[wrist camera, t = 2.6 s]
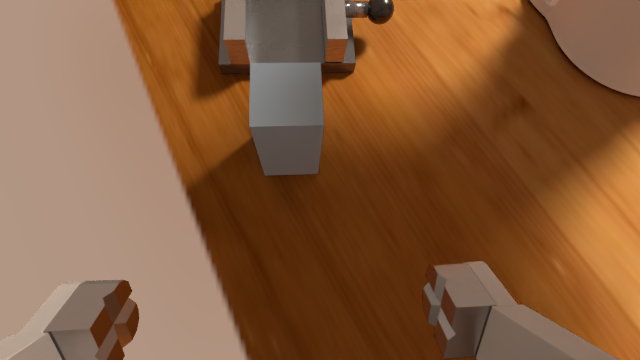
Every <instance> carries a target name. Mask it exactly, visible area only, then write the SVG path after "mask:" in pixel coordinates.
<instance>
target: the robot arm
mask: <svg viewBox="0 0 640 360" xmlns="http://www.w3.org/2000/svg"><path fill="white" fill-rule="evenodd" d="M530 1H531V3H532V4H533V5H534V6H535V7H536V8H537V10H538V11H539V12H540V13H541V14H542V15H543V16H544V17H545V18H546V20H547V21H548V23H549V25H550V27H551V30H552V32H553V35H554V37H555V39H556V41H557V43H558V44H559V46H560V47H561V49H562V50H563V52H564V53H565V54H566V55H567V57H568V58H569V59H570V60H571V61H572V62H573V63H574V64H575V65H576V66H577V67H578V68H579V69H581V70H582V71H583V72H584V73H586V74H587V75H588V76H590V77H591V78H593V79H594V80H596V81H598V82H599V83H601V84H603V85H605V86H607V87H609V88H612V89H614V90H617V91H619V92H622V93H626V94H629V95H634V96H640V0H530ZM425 276H426V278H427V280H428V283H427V284H426V285H425V286H424V287H423V293H422V302H423V309H424V313H425V316H426V318H427V321H428V322H429V323H430V324H431V325H433V326H434V327H435V328H436V329H435V334H434V337H435V339H436V342H437V344H438V346H439V348H440V351H441V353H442V355H443V358H462V357H476V359H477V360H619V359H617V358H615V357H614V356H612V355H610V354H608V353H607V352H605V351H603V350H601V349H600V348H598V347H596V346H594V345H593V344H591V343H589V342H588V341H586V340H584V339H582V338H581V337H579V336H577V335H575V334H574V333H572V332H570V331H568V330H567V329H565V328H563V327H562V326H560V325H558V324H556V323H555V322H553V321H551V320H549V319H548V318H546V317H544V316H542V315H541V314H539V313H537V312H535V311H534V310H532V309H530V308H529V307H527V306H525V305H518V304H517V303H516V302H515V300H514V299H513V298H512V296H511V295H510V294H509V293H508V291H507V290H506V289H505V287H504V286H503V285H502V283H501V282H500V281H499V280H498V278H497V277H496V276H495V274H494V273H493V272H492V270H491V269H490V268H489V266H488V265H487V264H486V263H485V262H483V261H474V262H464V263H446V264H429V266H428V267H427V270H426V275H425ZM131 292H132V289H131V287H130V285H129V282H128V281H125V280H103V281H85V282H65V283H63V284H61V285H59V286H58V287H57V288H56V290H55V291H54V292H53V293H52V294H51V296H50V297H49V298H48V299H47V300H46V301H45V302H44V304H43V305H42V306H41V307H40V308H39V310H38V311H37V312H36V313H35V314H34V315H33V317H32V318H31V319H30V320H29V321H28V322H27V324H26V325H25V326H24V327H23V328H22V330H21V331H20V332H19V333H18V334H14V335H9V336H8V337H6V338H4V339H3V340H1V341H0V360H123V358H124V356H125V355H124V352H123V349H122V348H123V347H124V346H126V345H127V344H128V343H129V342H131V341H132V340H133V337H134V335H135V333H136V331H137V327H138V322H139V312H138V307H137V304H136V303H135V302H134V301H133V300H131V299H130V298H128V297H129V295H130V294H131Z"/></svg>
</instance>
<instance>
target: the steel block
mask: <svg viewBox="0 0 640 360" xmlns="http://www.w3.org/2000/svg"><path fill="white" fill-rule="evenodd" d="M249 128H250V131H251V134H252V137H253V140H254V143H255V146H256V150H257V153H258V156H259V159H260V162H261V165H262V168H263V171H264V175H265V176H268V175H300V174H318V169H319V161H320V154H321V146H322V139H323V131H324V111H323V94H322V78H321V62H317V63H250V108H249Z"/></svg>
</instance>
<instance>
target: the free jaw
mask: <svg viewBox="0 0 640 360" xmlns="http://www.w3.org/2000/svg"><path fill="white" fill-rule="evenodd" d="M321 3H322V19H323V34H324V50H325V62H344V58H345V52H346V47H347V41H348V35H347V24H346V18H367V16H368V18H369V20H370V21H371V22H373V23H375V24H384V23H386V22H387V21H388V20H389V19H390V18H391V17H392V15H393V12H394V5H393V2H392V0H370V1H369V2H368V1H344V0H321Z"/></svg>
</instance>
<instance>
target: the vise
mask: <svg viewBox="0 0 640 360" xmlns="http://www.w3.org/2000/svg"><path fill="white" fill-rule="evenodd" d="M344 1H350V0H344ZM346 24H347V35H348V41H347V47H346V52H345V58H344V62H325V50H324V34H323V19H322V3H321V0H222V4H221V24H220V44H219V63H218V65H219V67H220V70H221V73H222V74H240V73H250V63H317V62H321V72H354V68H355V64H356V61H355V50H354V40H353V30H352V19H351V18H346Z"/></svg>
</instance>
